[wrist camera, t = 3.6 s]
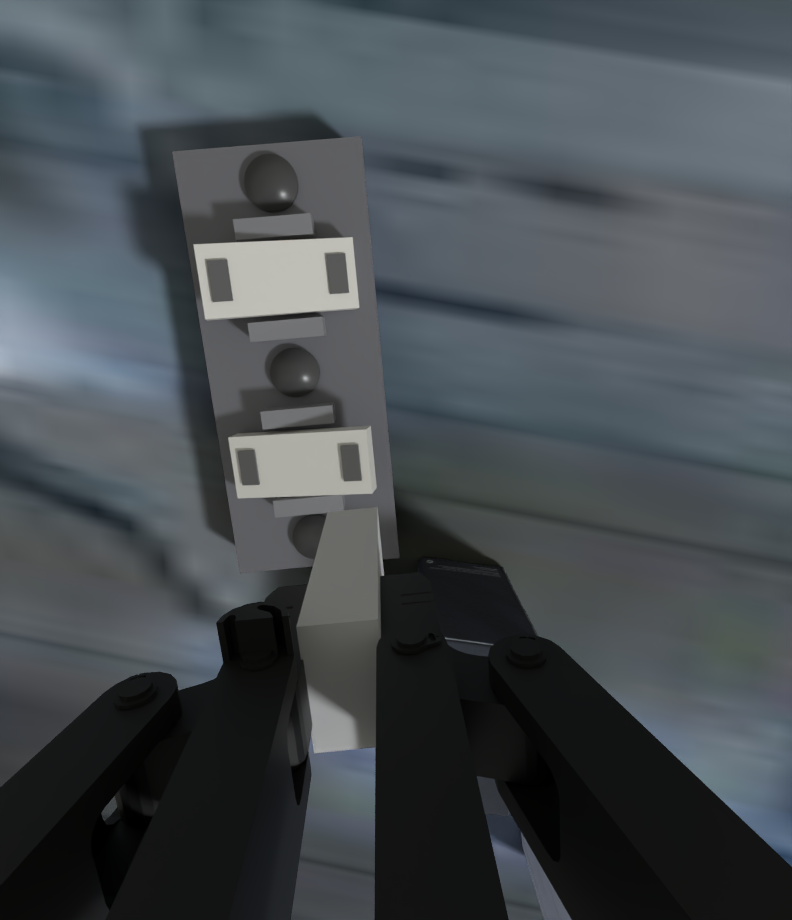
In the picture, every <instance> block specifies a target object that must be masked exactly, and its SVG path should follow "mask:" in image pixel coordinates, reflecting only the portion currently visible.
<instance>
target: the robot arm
mask: <svg viewBox="0 0 792 920" xmlns="http://www.w3.org/2000/svg"><path fill="white" fill-rule="evenodd" d="M216 624H217V630H218V635H219V641H220V646H221V652H222V657H223V665H222V667H221V669H220V671H219V673H218V676H217V678H215V679H214V680H211V681H208V682H205V683H203V684H199V685H196V686H192V687H189V688H186V689H182V690H178V686H177V681H176V679H175V678H174V677H173V676H172V675H171V674H167V673H163V672H151V673H142V674H139V675H138V674H137V675H134V676H131V677H129V678H128V679H126V680H124V681H122V682H119V683H117V684H116V685H114V686H113V687H111V688H110V689H109V690H107V691H106V692H104V693H103V694H102V695H101V696H100V697H99V698H98V699H97V700H96V701H95V702H93V703H92V704H91V705H90V706H89V707H88V708H87V709H86V710H85V711H84V712H82V713H81V714H80V715H79V716H78V717H77V718H76V719H75V720H74V721H73V722H72V723H70V724H69V725H68V726H67V727H66V728H65V729H64V730H63V731H62V732H61V733H60V734H58V735H57V736H56V737H55V738H54V739H53V740H52V741H51V742H50V743H49V744H47V745H46V746H45V747H44V748H43V749H42V750H41V751H40V752H39V753H38V754H37V755H35V756H34V757H33V758H32V759H31V760H30V761H29V762H28V763H27V764H26V765H25V766H23V767H22V768H21V769H20V770H19V771H18V772H17V773H16V774H15V775H14V776H12V777H11V778H10V779H9V780H8V781H7V782H6V783H5V784H4V785H3V786H2V787H0V920H291V913H292V906H293V899H294V892H295V885H296V878H297V871H298V864H299V857H300V850H301V843H302V836H303V829H304V823H305V816H306V809H307V802H308V795H309V788H310V781H311V766H310V759H309V752H308V749H309V743H310V737H311V734H312V741H313V748H314V753H322V752H332V751H342V750H352V749H362V748H372V747H376V788H375V920H508V915H507V911H506V906H505V902H504V897H503V893H502V888H501V884H500V879H499V875H498V870H497V865H496V861H495V856H494V852H493V847H492V843H491V838H490V834H489V829H488V825H487V820H486V816H485V811H484V807H483V802H482V798H481V793H480V789H479V784H478V780H477V776H480V777H485V778H491V779H495V783H496V787H497V790H498V792H499V794H500V796H501V798H502V799H503V801H504V803H505V805H506V806H507V808H508V810H509V812H510V813H511V815H512V817H513V818H514V820H515V822H516V824H517V825H518V827H519V829H520V831H521V832H522V834H523V836H524V838H525V839H526V841H527V843H528V845H529V846H530V848H531V850H532V852H533V853H534V855H535V857H536V859H537V860H538V862H539V864H540V866H541V867H542V869H543V871H544V872H545V874H546V876H547V878H548V879H549V881H550V883H551V885H552V886H553V888H554V890H555V892H556V893H557V895H558V897H559V899H560V900H561V902H562V904H563V906H564V907H565V909H566V911H567V913H568V914H569V916H570V918H571V920H792V867H791V866H790V865H789V864H788V863H787V862H786V861H785V860H784V859H783V858H782V857H781V856H780V855H779V854H778V853H776V852H775V851H774V850H773V849H772V848H771V847H770V846H769V845H768V844H767V843H766V842H765V841H764V840H763V839H762V838H761V837H760V836H759V835H758V834H756V833H755V832H754V831H753V830H752V829H751V828H750V827H749V826H748V825H747V824H746V823H745V822H744V821H743V820H742V819H741V818H740V817H739V816H738V815H736V814H735V813H734V812H733V811H732V810H731V809H730V808H729V807H728V806H727V805H726V804H725V803H724V802H723V801H722V800H721V799H720V798H719V797H718V796H716V795H715V794H714V793H713V792H712V791H711V790H710V789H709V788H708V787H707V786H706V785H705V784H704V783H703V782H702V781H701V780H700V779H699V778H698V777H696V776H695V775H694V774H693V773H692V772H691V771H690V770H689V769H688V768H687V767H686V766H685V765H684V764H683V763H682V762H681V761H680V760H679V759H678V758H676V757H675V756H674V755H673V754H672V753H671V752H670V751H669V750H668V749H667V748H666V747H665V746H664V745H663V744H662V743H661V742H660V741H659V740H658V739H656V738H655V737H654V736H653V735H652V734H651V733H650V732H649V731H648V730H647V729H646V728H645V727H644V726H643V725H642V724H641V723H640V722H639V721H637V720H636V719H635V718H634V717H633V716H632V715H631V714H630V713H629V712H628V711H627V710H626V709H625V708H624V707H623V706H622V705H621V704H620V703H619V702H617V701H616V700H615V699H614V698H613V697H612V696H611V695H610V694H609V693H608V692H607V691H606V690H605V689H604V688H603V687H602V686H601V685H600V684H599V683H597V682H596V681H595V680H594V679H593V678H592V677H591V676H590V675H589V674H588V673H587V672H586V671H585V670H584V669H583V668H582V667H581V666H580V665H579V664H577V663H576V662H575V661H574V660H573V659H572V658H571V657H570V656H569V655H568V654H567V653H566V652H565V651H564V650H563V649H562V648H561V647H559V646H558V645H556V644H555V643H553V642H552V641H550V640H548V639H545V638H542V637H539V636H535V635H527V634H520V635H514V636H508V637H505V638H503V639H500V640H498V641H497V642H495V643H494V644H493V645H492V646H491V647H490V650H489V654H488V656H479V655H472V654H467V653H464V652H461V651H458V650H456V649H454V648H452V647H451V646H449V645H448V644H447V640H446V639H445V637H444V635H443V634H442V633H441V629H440V624H439V620H438V615H437V610H436V606H435V602H434V596H433V592H432V587H431V583H430V580H429V579H427V578H426V577H425V576H424V575H422V574H421V573H420V572H418V573H408V574H397V575H386V576H384V569H383V559H382V548H381V538H380V528H379V518H378V508H377V507H374V508H363V509H353V510H342V511H331V512H328V513H327V516H326V520H325V524H324V527H323V531H322V535H321V538H320V542H319V546H318V549H317V553H316V557H315V560H314V564H313V568H312V571H311V575H310V579H309V582H308V584H307V585H297V586H286V587H278V588H277V589H276V590H275V591H274V592H273V593H271V594H270V595H269V596H268V597H267V598H266V600H265V602H257V603H251V604H246V605H243V606H241V607H238V608H235V609H233V610H231V611H229V612H228V613H226V614H224V615H223V616H222V617H221V618H220V619H219V620H218V621H217V623H216ZM114 796H115V799H116V803H117V808H116V810H115V811H114V812H113V813H112V815H111V816H110V817H109V818H108V819H106V820H105V821H104V820H103V819H102V815H101V812H102V811H103V809H104V808H105V806H106V805H107V804H108V803H109V802H110V800H111V799H112V798H113V797H114Z"/></svg>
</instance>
